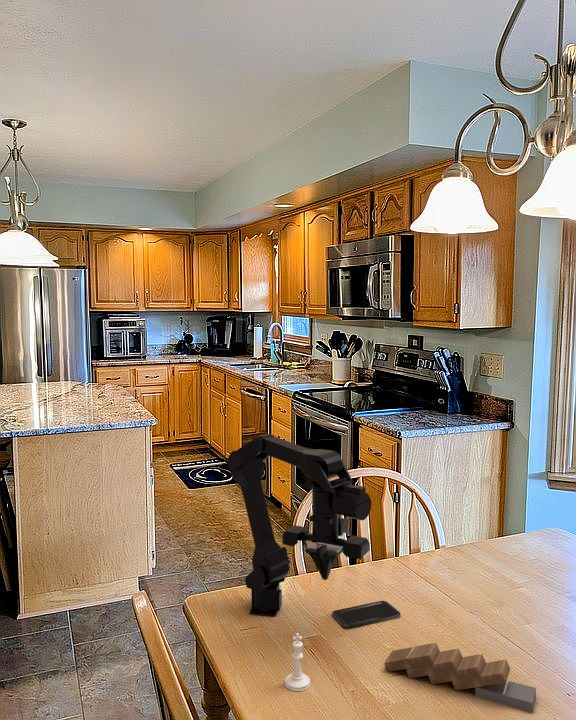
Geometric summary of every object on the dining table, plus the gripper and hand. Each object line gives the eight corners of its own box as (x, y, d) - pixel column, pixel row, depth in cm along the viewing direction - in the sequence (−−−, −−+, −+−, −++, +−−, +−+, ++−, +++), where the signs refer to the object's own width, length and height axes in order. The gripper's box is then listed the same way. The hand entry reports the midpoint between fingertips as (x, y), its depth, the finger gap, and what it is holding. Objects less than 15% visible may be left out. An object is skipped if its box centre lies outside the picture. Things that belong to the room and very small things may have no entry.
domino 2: (405, 669, 121) (452, 661, 116) (413, 656, 125) (458, 648, 121) (409, 678, 121) (456, 670, 116) (416, 665, 125) (462, 657, 121)
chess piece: (284, 676, 121) (283, 627, 121) (308, 675, 122) (308, 626, 121) (286, 692, 117) (285, 641, 116) (311, 690, 117) (311, 640, 116)
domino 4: (451, 680, 117) (501, 672, 112) (457, 667, 122) (506, 659, 117) (455, 690, 117) (506, 682, 112) (461, 676, 121) (510, 668, 117)
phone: (330, 611, 146) (385, 599, 152) (330, 616, 146) (385, 604, 152) (345, 627, 139) (402, 614, 145) (345, 632, 139) (402, 619, 145)
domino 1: (384, 662, 123) (429, 654, 119) (392, 650, 128) (436, 642, 123) (387, 671, 123) (433, 664, 118) (395, 659, 127) (440, 651, 123)
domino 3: (428, 674, 119) (476, 666, 114) (434, 661, 124) (482, 653, 119) (431, 684, 119) (480, 676, 114) (438, 671, 123) (486, 663, 119)
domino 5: (475, 687, 115) (532, 702, 110) (480, 673, 119) (536, 687, 115) (475, 696, 115) (532, 712, 110) (480, 682, 120) (535, 697, 115)
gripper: (378, 505, 137) (378, 573, 138) (303, 494, 146) (303, 558, 147) (360, 520, 127) (359, 593, 128) (280, 507, 136) (281, 576, 137)
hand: (325, 579), depth 136 cm, fingers closed
